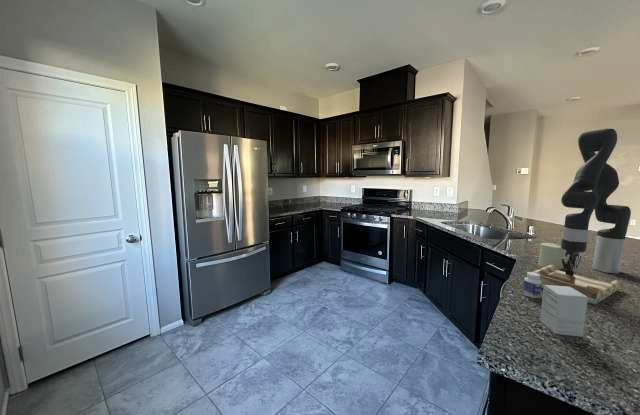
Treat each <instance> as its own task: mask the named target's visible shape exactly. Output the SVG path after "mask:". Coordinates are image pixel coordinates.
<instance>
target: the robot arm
mask: <svg viewBox="0 0 640 415" xmlns="http://www.w3.org/2000/svg"><path fill="white" fill-rule="evenodd" d="M617 143H618V133H617V131H616V129H614V128H603V129H597V130H590V131H584V132H582V133H581V134H579V135H578V139H577V145H578V149H579V151H580V155H581V157H582V160H583V162H584V163H583V164H582V165H581V166H579V167H578V170H577V171H576V173H575V176H574V179H573V182H572V184H571V185H570V186H569V187H568V189H567V190H566V191H564V193H563V194H562V196H561V200H560V202H561V204H562V206H564V207H565V208H571V209H583V211H582V212H578V213H577V212H576V213H568V214H566V215H565V218H564V225H563V230H562V234H561V241H560V242H561V243H560V245H561V248H562V249H564V250H563V251H565V253H563V258H562V266H563V267H562V269H563V270H565V272H566V275H570V276H574V274H575V271H576V270H577V269H578V266H579V264H580V262H581V260H582V255H580V253H585V252H586V251H587V246H588V238H589V225H590V219H591V218H592V215H593V212H594V215H595V219H596V220H597V221H598V222H601V223H603V224H613V225H614V226H613V227H611V228H606V229H605V228H604V229H599V230H597V233H596V239H595V240H596V241H595V248H594V254H593V261H592V266H591V267H592V269H593V270H596V271H598V272H603V273H608V274H615V275H617V274H620V273H621V266H622V260H623V254H624V248H625V241H626V235H627V232H628V228H629V223H630V220H631V214H632V209H631V208H630V206H627V205H619V204H616V205H615V204H608V203H607V200H608V199H609V197H610V196H611V195H612V194H613V193H614V192H616V190H617V189H618V188H619V186H620V179H619V174H618V172H617V170H616V169H615V168H614V167H613V166H611V165H610V164H609V163H607V162H608V160H609V158H610V157H611V155H612V153H613V152H614V149H615V148H616V146H617ZM596 152H597V153H596Z"/></svg>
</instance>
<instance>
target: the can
mask: <svg viewBox="0 0 640 415" xmlns="http://www.w3.org/2000/svg"><path fill="white" fill-rule="evenodd" d="M539 248H540V250H539V256H538V263H537V265H538V266H540V267H541V268H544V267H546V266H549V265H555V269H556V270H562V269H563V267H562V266H563V264H562V259H563V258H564V251H565V250H564V249H562V248H561V244H557V243H552V242H551V243H550V242H542V243H540V247H539Z"/></svg>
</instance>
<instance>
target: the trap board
mask: <svg viewBox="0 0 640 415" xmlns="http://www.w3.org/2000/svg"><path fill="white" fill-rule="evenodd" d="M527 272H529V271H526V272H525V278H526V277H527ZM532 272H534V273H537V274H540V279H539V280H540V281H541V289H544V285H553V286H567V287H571V288H573V289H575V290H577V291H578V292H580V293H582V294H584V295H585V296H587V297H588V302H587V304H588V303H589V304H592V305H597V304H599V303H600V302H602V301H603V300H605V299H607V298H608V297H610V296H611V295H612V294H614V293H615V292H617V291H618V290H619V286H620V285H619V284H620V280H616V279H614V280H612V281H611V282H606V281H602V280H598V279H595V278H590V277H587V276H582V275H579V274H575V273H574V277H576V278H575V284H571V283H567V282H564V281H560V280H557V279H553V278H550V275H551V274H553V273H556V272H558V273H562V274H566V271H563V270H561V269H555V265H549V266H546V267H541V268H539V269H535V270H533V271H532Z"/></svg>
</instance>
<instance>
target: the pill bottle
mask: <svg viewBox="0 0 640 415" xmlns="http://www.w3.org/2000/svg"><path fill="white" fill-rule="evenodd" d="M526 272H527V271H526ZM523 279H524V280H523V285H522V286H523V288H522V294H523V295H524V296H526V297H529V298H533V299H538V298H540V297H541V290H542V288H541V281H540V280H539V279H540V274H537V273H534V272H533V271H528V272H527V277H526V276H525V277H524V278H523Z"/></svg>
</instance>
